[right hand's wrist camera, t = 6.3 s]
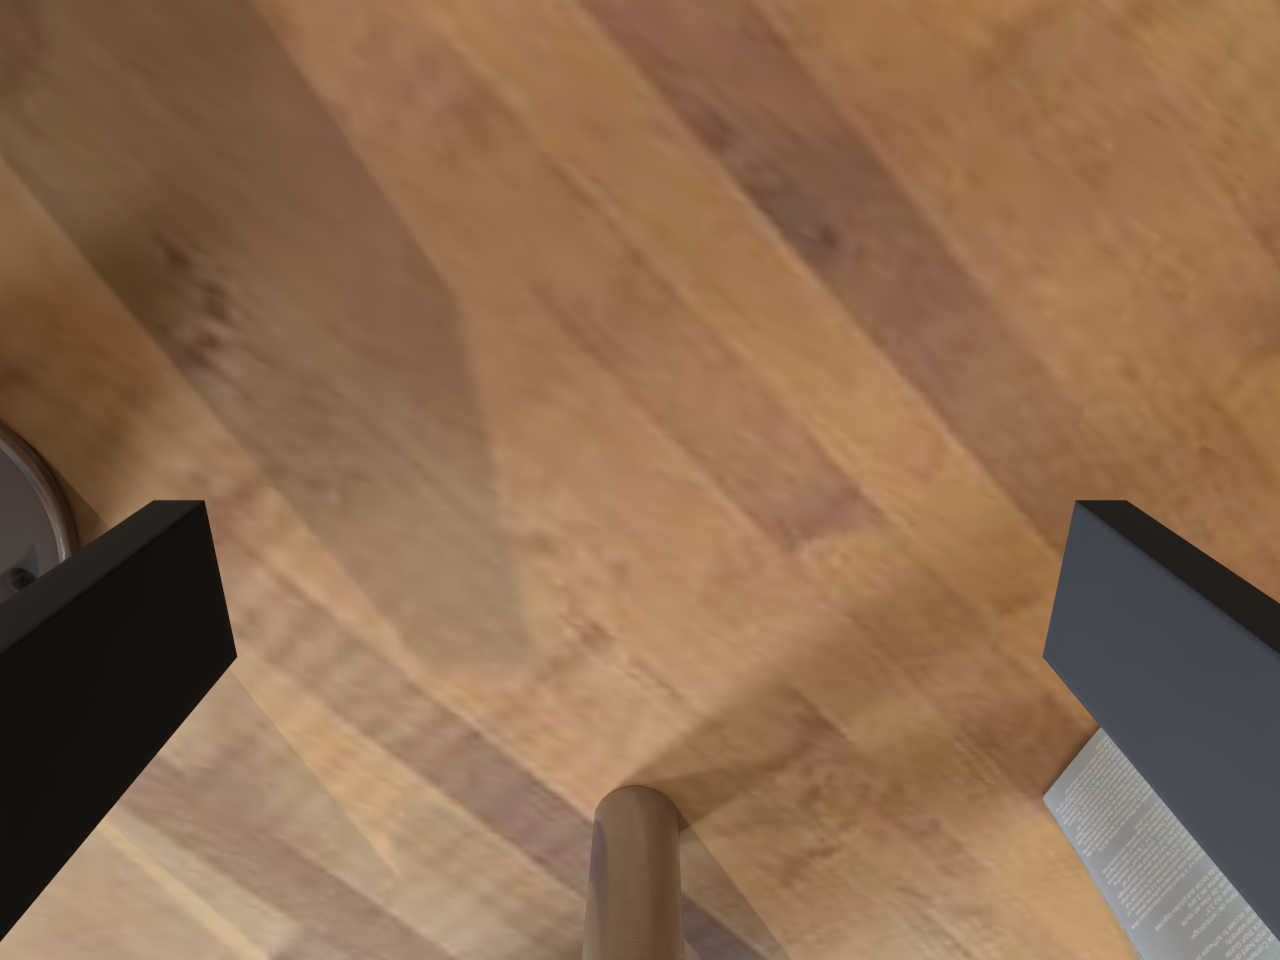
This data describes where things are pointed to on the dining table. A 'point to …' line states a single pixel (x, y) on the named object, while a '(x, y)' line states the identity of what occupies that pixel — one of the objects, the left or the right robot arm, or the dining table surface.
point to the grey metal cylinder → (634, 879)
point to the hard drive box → (1151, 864)
